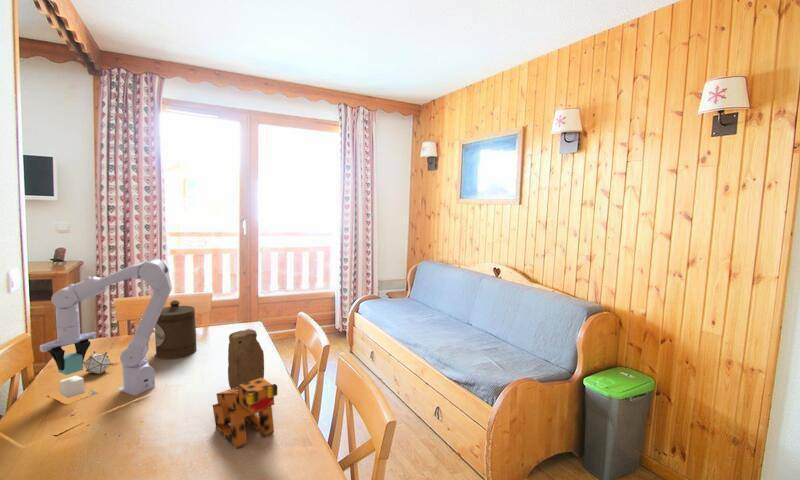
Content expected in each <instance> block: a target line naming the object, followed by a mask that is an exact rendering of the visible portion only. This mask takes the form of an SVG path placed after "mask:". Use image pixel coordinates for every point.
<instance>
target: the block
mask: <svg viewBox="0 0 800 480" xmlns="http://www.w3.org/2000/svg"><path fill="white" fill-rule="evenodd" d="M257 335H258V334H257V332H256V330H254V329H250V328H248V329H247V328H246V329H245V330H238V331H234V332H232V333H229V335H228V342H229V343H228V348H227V350H228V352H227V355H228V356H227V362H228V363H227V364H228V367H227V378H228V380H227V381H228V386H229V389H233V388H236V387H238V385H240V384H243V383H246V382H250V381H253V380H256V379H259V378H263V379H265V354H264V350H263V348H262V346H261V343H260V342H259V341H258V339H257V337H258V336H257Z"/></svg>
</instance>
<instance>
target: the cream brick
mask: <svg viewBox="0 0 800 480" xmlns="http://www.w3.org/2000/svg"><path fill="white" fill-rule="evenodd" d="M84 387H85V378H83V377H81V376H78V375H74V376H73V375H72V376H69V377H67V378H65V379H64V378H63V379H62V380H59V391H60V394H61V395H63V396H65V397H67V398H70V397H73V396H76V395H79V394H83V393H85V391H84Z"/></svg>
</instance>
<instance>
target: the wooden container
mask: <svg viewBox="0 0 800 480" xmlns="http://www.w3.org/2000/svg"><path fill="white" fill-rule="evenodd" d="M169 304H170V306H167V307H166V306H164V307H163V310H162V312H161V314H160V316H159V318H158V321H157V323H156V325H155V327H154V335H155V336H154V337H155V356H156V357H158V358H159V359H162V360H163V359H165V360H174V359H175V360H176V359H179V358H184V357H187V356H190V355H192V354H194V353H196V351H197V330H196V328H197V327H196V312H195V311H196V310H195V307H194V306H191V305H180V301H178V300H177V299H175V300H174V299H173V300H171V301H170V303H169Z"/></svg>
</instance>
